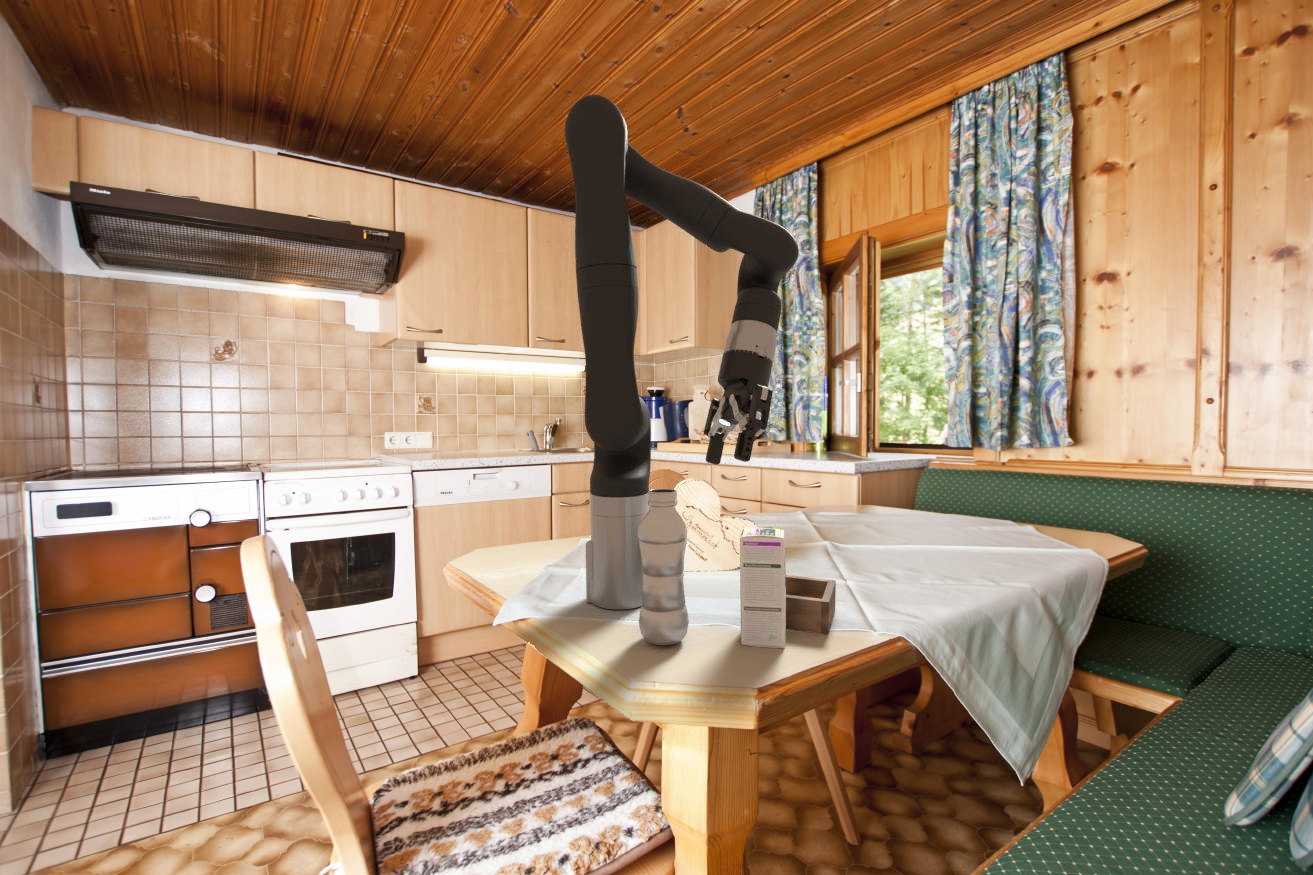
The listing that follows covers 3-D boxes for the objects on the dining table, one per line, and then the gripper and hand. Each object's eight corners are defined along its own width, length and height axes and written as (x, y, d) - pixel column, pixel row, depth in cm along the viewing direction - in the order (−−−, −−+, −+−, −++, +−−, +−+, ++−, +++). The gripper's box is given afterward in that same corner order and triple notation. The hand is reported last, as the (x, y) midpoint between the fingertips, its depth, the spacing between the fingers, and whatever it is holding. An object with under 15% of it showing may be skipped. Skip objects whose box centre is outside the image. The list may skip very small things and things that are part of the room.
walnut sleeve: (755, 624, 82) (755, 593, 82) (768, 601, 91) (769, 573, 91) (828, 634, 78) (829, 602, 78) (835, 609, 87) (835, 580, 87)
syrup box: (786, 649, 74) (787, 536, 73) (739, 645, 75) (739, 535, 74) (785, 631, 79) (786, 527, 78) (741, 628, 81) (742, 525, 80)
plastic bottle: (699, 640, 77) (698, 490, 75) (663, 656, 72) (662, 496, 71) (664, 626, 81) (663, 485, 80) (628, 641, 76) (626, 491, 75)
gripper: (704, 360, 92) (682, 458, 89) (752, 337, 79) (728, 451, 76) (744, 374, 95) (724, 470, 92) (797, 355, 82) (775, 466, 78)
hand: (726, 462), depth 84 cm, fingers open, 8 cm apart
